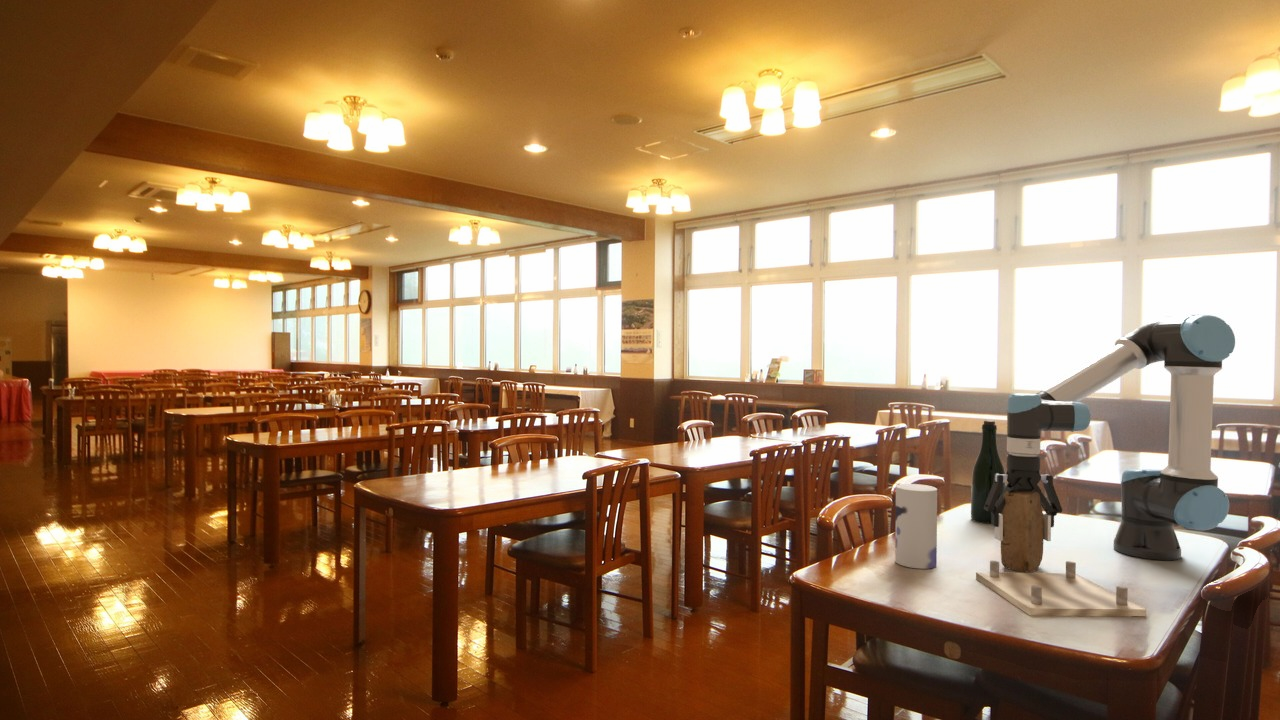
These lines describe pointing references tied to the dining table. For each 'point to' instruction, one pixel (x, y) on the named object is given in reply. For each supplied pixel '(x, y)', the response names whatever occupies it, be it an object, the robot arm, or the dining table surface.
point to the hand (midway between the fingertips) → (1022, 539)
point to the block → (1022, 531)
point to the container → (916, 526)
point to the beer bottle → (985, 473)
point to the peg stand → (1059, 593)
